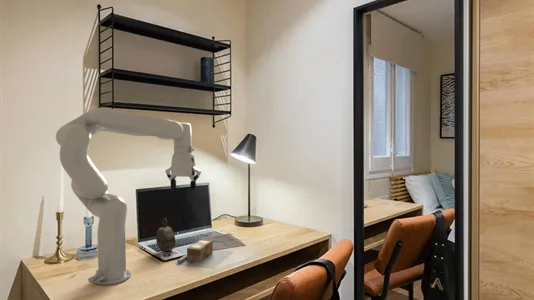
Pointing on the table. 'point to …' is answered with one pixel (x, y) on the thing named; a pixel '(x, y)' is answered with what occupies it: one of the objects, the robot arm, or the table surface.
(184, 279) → the table surface
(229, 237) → the picture frame
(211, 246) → the brown cardboard box
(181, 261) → the wall board
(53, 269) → the table surface
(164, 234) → the alarm clock
